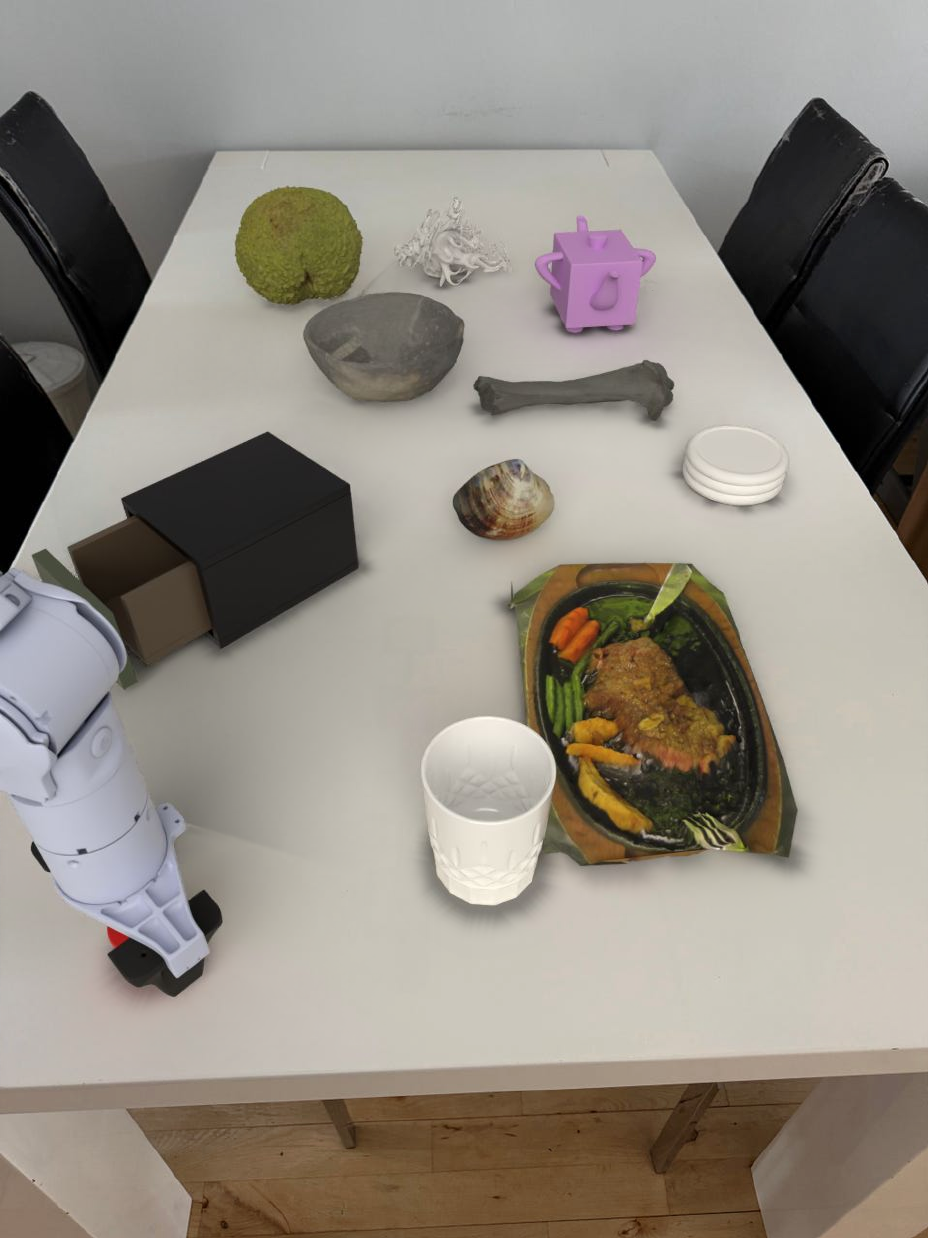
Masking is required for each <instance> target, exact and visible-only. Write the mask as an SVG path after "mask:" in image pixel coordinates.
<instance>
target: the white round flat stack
mask: <svg viewBox="0 0 928 1238" xmlns="http://www.w3.org/2000/svg"><path fill="white" fill-rule="evenodd" d="M789 466H790V455H789V452H788V449H787V448H786V447H785V446H784V444H782V442H780V440H778V439H777V438H776V437H774V436H772V435H771V434H769V433H767V432H765V431H763V430H760V429H756V428H754V427H750V426H745V425H739V424H719V425H712V426H709V427H706V428H704V429H701V430H699V431H697V432H696V433H694V434H693V435H692V436H691V437H690V439H689V440H688V442H687V444H686V447H685V453H684V458H683V464H682V469H681V470H682V476H683V479H684V481H685V482H686V484H687V485H688V486H689V487H690V488H691V489H692V490H693V491H694V492H695V493H697V494H699V495H701V496H702V497H703V498H706V499H708V500H711V501H713V502H716V503H720V504H725V505H731V506H753V505H758V504H763V503H766V502H768V501H770V500H771V499H773V498H775V497H776V496H777V495H778V494H779V493H780V492H781V490H782V488H783V487H784V483H785V482H784V481H785V479H786V477H787V470H788V468H789Z"/></svg>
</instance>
